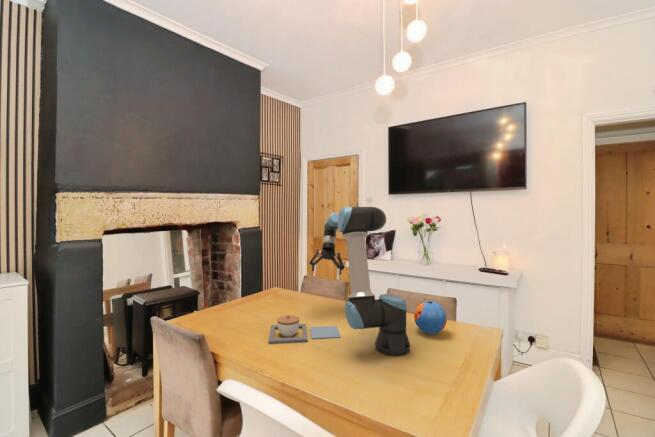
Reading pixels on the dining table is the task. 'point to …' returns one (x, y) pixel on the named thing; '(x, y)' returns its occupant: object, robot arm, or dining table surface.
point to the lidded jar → (288, 325)
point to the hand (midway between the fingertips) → (325, 278)
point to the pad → (324, 332)
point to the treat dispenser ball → (430, 317)
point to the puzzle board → (287, 340)
